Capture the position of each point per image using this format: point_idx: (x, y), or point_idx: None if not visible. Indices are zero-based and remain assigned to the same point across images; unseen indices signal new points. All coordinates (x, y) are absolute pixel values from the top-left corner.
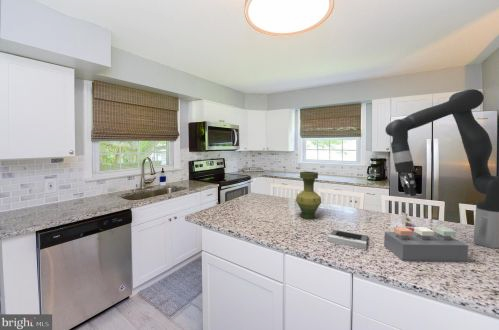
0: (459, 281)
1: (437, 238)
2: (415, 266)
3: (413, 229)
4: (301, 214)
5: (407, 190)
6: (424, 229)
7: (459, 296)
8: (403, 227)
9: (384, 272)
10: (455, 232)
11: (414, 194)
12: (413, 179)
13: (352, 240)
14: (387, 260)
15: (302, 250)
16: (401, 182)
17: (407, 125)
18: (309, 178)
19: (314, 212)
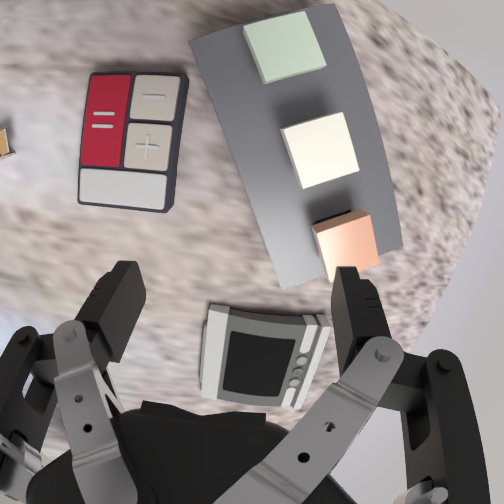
0: (447, 116)
1: (296, 86)
2: (403, 197)
3: (100, 137)
4: None
5: (123, 306)
6: (328, 149)
7: (493, 154)
8: (326, 243)
9: (440, 279)
10: (304, 13)
11: (367, 287)
12: (469, 442)
13: (314, 360)
14: (384, 265)
15: None
16: (55, 403)
17: None
18: None
19: None
